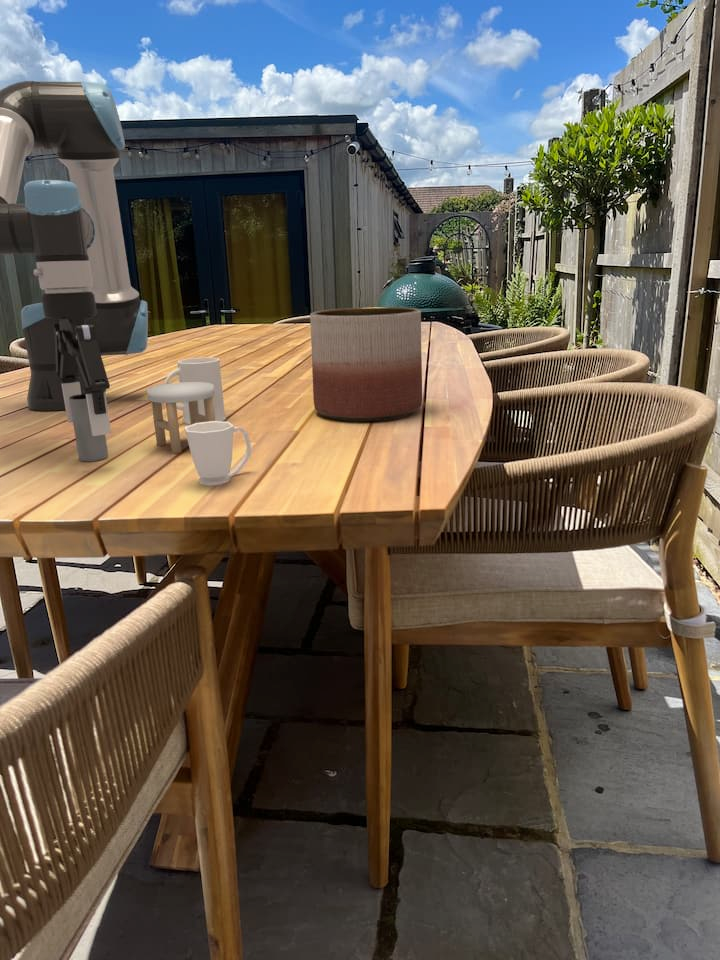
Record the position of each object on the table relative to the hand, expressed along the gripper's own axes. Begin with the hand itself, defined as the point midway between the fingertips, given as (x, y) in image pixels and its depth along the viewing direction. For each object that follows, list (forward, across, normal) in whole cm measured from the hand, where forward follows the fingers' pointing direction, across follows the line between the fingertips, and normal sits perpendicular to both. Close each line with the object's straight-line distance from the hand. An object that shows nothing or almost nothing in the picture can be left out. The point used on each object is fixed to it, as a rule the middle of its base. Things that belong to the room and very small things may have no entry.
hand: (88, 427), depth 110 cm
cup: (+6, +25, +11) cm, 28 cm away
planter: (+5, +4, +54) cm, 55 cm away
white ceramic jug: (+5, -13, +24) cm, 28 cm away
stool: (+5, +3, +15) cm, 16 cm away
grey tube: (+5, 0, 0) cm, 5 cm away
